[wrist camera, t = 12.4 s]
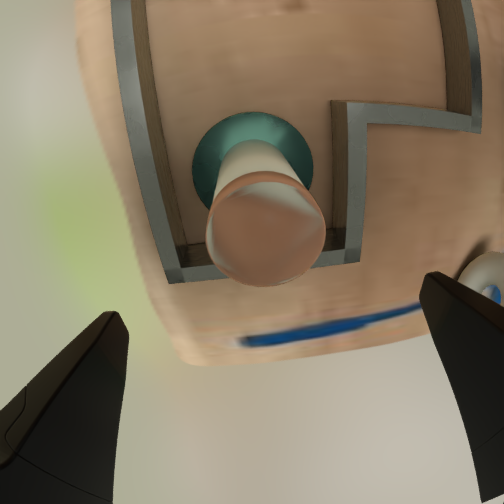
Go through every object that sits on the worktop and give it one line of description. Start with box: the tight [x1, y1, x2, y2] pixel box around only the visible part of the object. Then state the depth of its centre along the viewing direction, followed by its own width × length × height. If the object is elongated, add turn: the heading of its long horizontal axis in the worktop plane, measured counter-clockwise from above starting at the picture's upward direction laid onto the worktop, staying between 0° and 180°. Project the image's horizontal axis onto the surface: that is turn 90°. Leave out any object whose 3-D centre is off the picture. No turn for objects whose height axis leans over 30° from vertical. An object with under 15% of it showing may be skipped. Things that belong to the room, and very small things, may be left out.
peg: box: [205, 139, 326, 287], centre depth 14 cm, size 4×4×9 cm
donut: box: [458, 251, 504, 307], centre depth 20 cm, size 10×4×10 cm, turn 162°
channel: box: [111, 0, 482, 284], centre depth 12 cm, size 23×32×3 cm
